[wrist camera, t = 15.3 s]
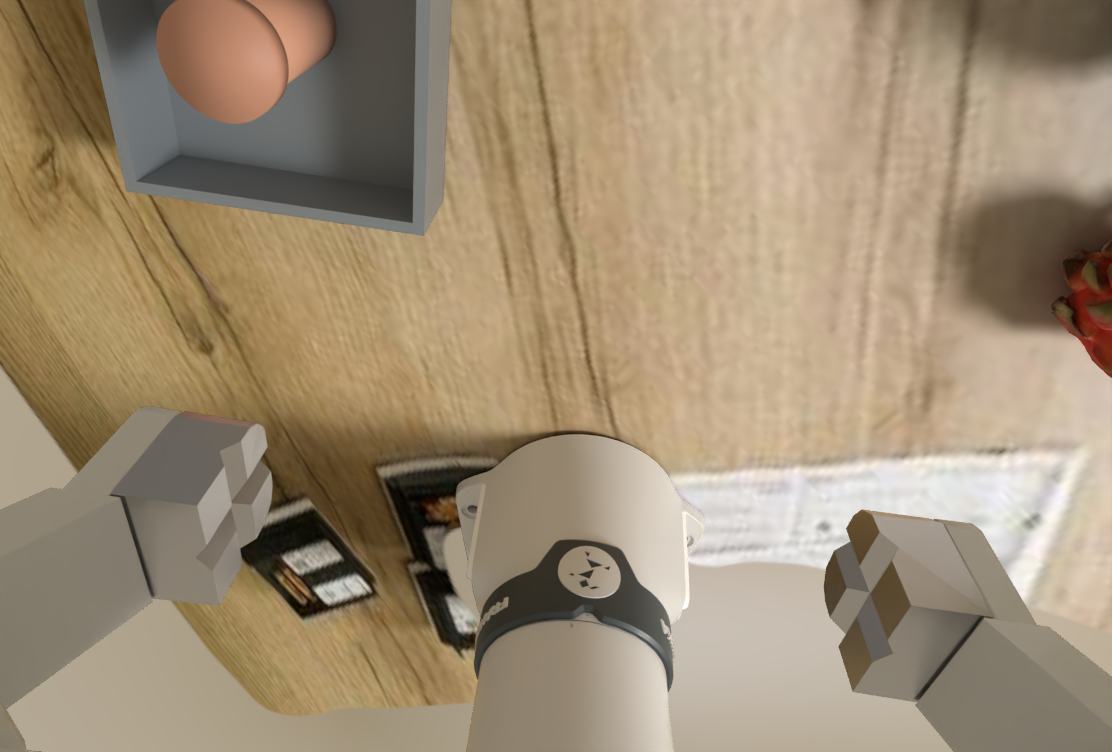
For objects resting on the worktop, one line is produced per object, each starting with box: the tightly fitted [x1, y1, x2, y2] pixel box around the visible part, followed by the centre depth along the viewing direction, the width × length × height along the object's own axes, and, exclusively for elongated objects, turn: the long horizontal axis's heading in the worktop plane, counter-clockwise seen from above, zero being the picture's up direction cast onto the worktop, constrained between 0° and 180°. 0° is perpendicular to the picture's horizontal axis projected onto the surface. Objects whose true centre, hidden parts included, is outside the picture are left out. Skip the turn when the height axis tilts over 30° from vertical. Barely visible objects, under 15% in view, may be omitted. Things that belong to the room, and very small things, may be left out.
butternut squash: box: [156, 0, 337, 124], centre depth 31 cm, size 5×5×8 cm
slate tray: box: [83, 0, 452, 236], centre depth 33 cm, size 15×15×5 cm
